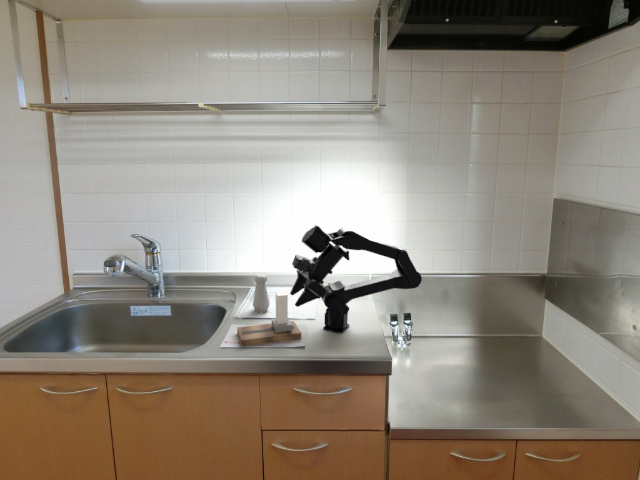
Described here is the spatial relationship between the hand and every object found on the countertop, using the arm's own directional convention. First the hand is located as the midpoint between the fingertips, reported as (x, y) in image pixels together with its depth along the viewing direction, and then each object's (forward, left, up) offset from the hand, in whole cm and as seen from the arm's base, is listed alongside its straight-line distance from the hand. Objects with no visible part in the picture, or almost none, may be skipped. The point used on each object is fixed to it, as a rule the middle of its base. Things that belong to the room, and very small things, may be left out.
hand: (293, 299), depth 136 cm
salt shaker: (+18, -9, -11) cm, 23 cm away
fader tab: (+2, +4, -8) cm, 9 cm away
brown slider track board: (+5, +7, -10) cm, 13 cm away
